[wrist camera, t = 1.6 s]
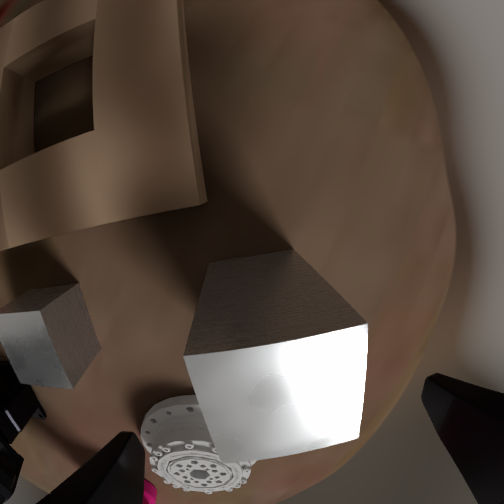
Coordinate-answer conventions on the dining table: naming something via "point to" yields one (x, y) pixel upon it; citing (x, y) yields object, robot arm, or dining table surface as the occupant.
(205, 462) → the mechanical component
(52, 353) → the grey cube
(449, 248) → the dining table surface
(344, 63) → the dining table surface
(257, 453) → the grey tall rectangular block
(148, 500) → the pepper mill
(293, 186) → the dining table surface
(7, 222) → the hole block
